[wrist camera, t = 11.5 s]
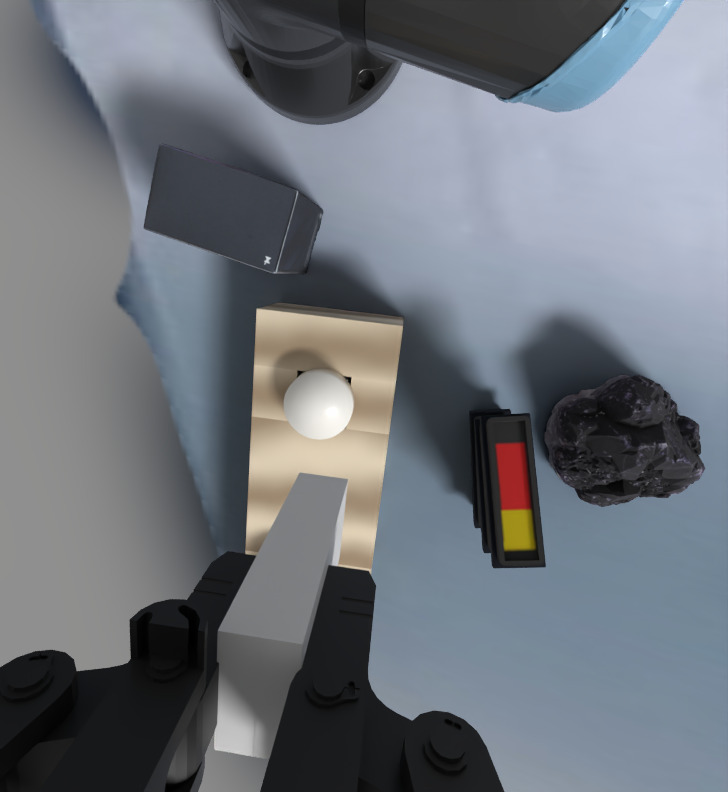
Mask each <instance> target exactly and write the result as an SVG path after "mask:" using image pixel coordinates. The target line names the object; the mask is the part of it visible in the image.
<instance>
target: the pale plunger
mask: <svg viewBox="0 0 728 792" xmlns="http://www.w3.org/2000/svg"><path fill="white" fill-rule="evenodd" d="M351 378H352V377H347V376H342V375H341V374H339V373H338V372H336V371H334V370H331V369H327V368H314V369H310V370H307V371H303V372H302V373H301V374H300V376H299V377H297V378H296V380H295V381H294V382H293V383H292V384H291V385H290V386H289V388H288V389H287V391H286V394H285V397H284V412H285V416H286V418H287V420H288V422H289V424H290V425H291V426H292V427H293V428H294V429H295V430H296V431H297V432H298V433H300V434H301V435H303V436H305V437H308V438H311V439H318V440H321V439H328V438H331V437H334V436H336V435H337V434H339V433H340V432H341V431H343V430H344V428H345V427H346V426H347V424H348V423H349V421H350V418H351V415H352V413H353V410H354V405H355V398H354V392H353V390H352V387H351Z"/></svg>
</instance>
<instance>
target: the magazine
mask: <svg viewBox="0 0 728 792" xmlns="http://www.w3.org/2000/svg"><path fill="white" fill-rule="evenodd" d="M469 417H470V443H471V468H472V493H473V518H474V526H475V528H481V532H482V548H483V551H484V553H491V559H492V566H493V568H531V567H546V564H545V554H544V545H543V535H542V525H541V516H540V506H539V496H538V487H537V477H536V467H535V458H534V448H533V439H532V429H531V419H530V413H523V414H511V410H510V409H488V410H474V411H469Z"/></svg>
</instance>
